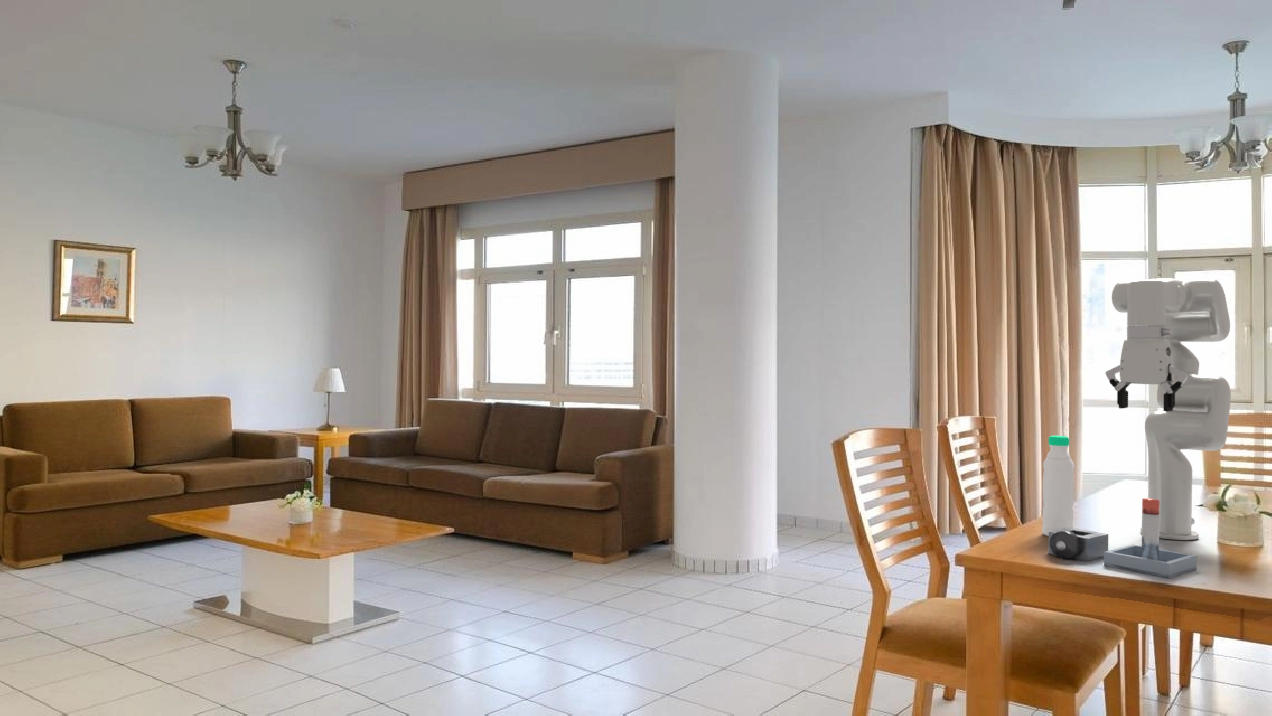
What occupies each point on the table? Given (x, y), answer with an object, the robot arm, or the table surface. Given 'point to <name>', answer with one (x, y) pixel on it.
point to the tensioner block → (1077, 544)
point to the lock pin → (1150, 528)
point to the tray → (1150, 561)
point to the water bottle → (1058, 486)
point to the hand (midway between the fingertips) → (1145, 409)
